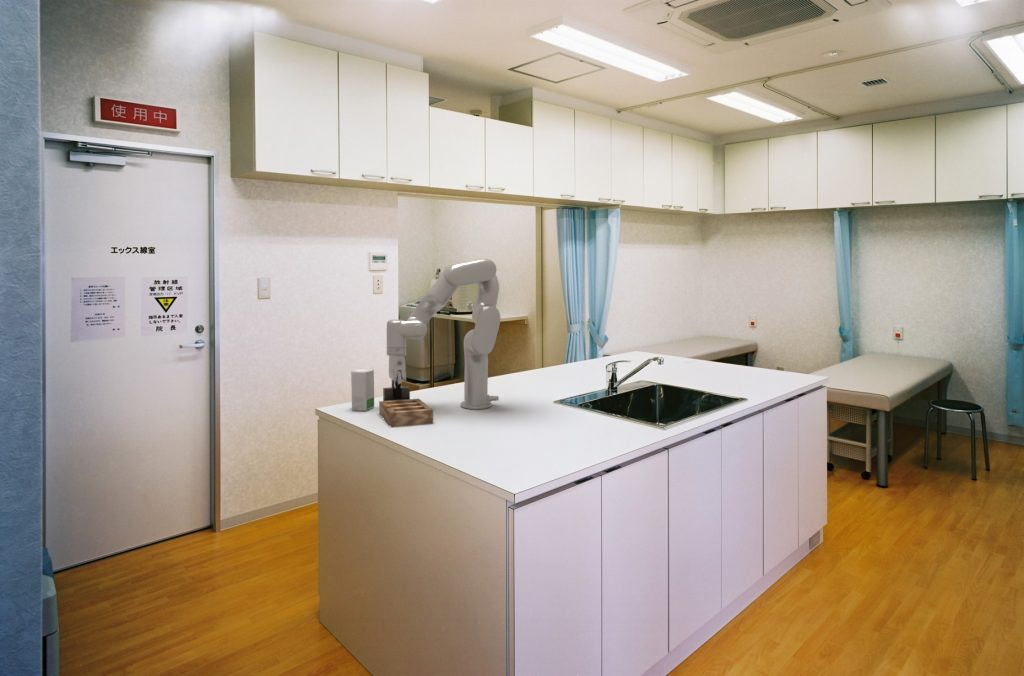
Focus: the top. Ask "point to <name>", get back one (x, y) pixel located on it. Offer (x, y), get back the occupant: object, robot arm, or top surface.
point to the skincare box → (362, 389)
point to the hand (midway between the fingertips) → (396, 397)
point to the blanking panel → (389, 394)
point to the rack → (405, 412)
